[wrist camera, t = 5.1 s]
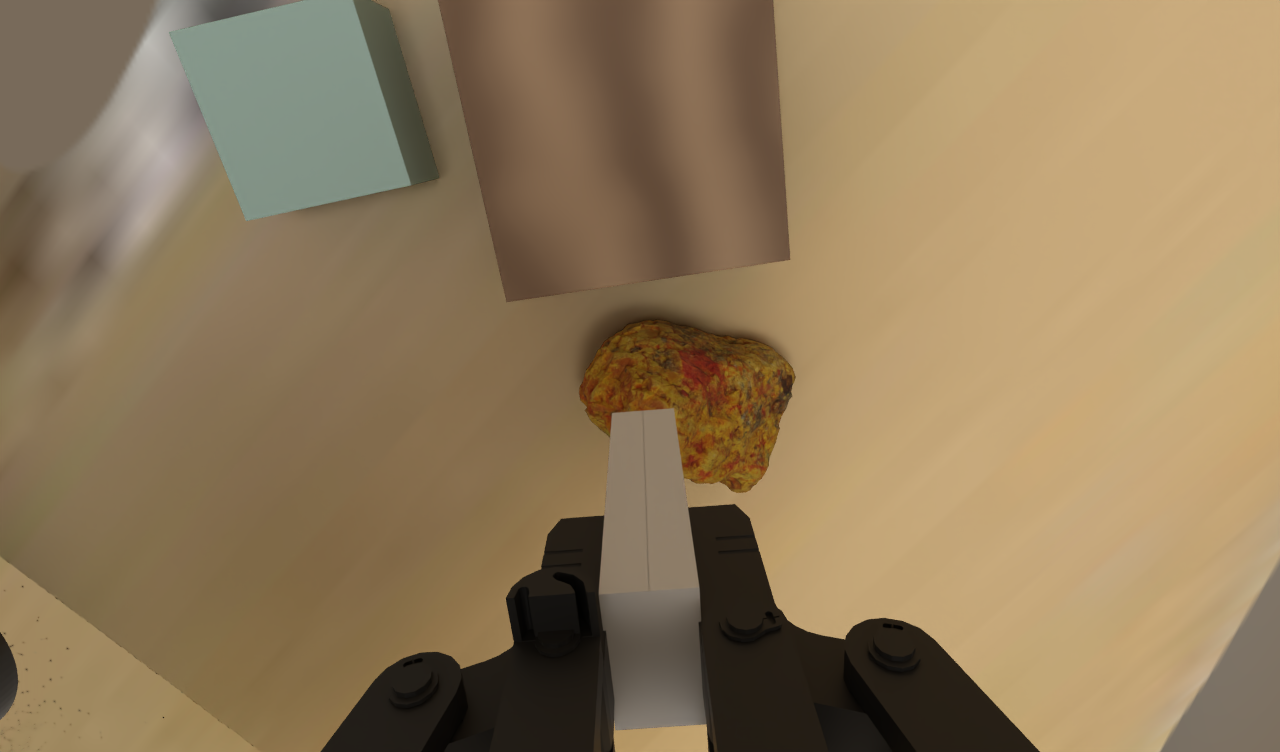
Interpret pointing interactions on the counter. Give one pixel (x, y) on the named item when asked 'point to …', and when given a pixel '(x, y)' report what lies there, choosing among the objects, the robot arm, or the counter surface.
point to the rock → (696, 395)
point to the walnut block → (622, 137)
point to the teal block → (307, 104)
